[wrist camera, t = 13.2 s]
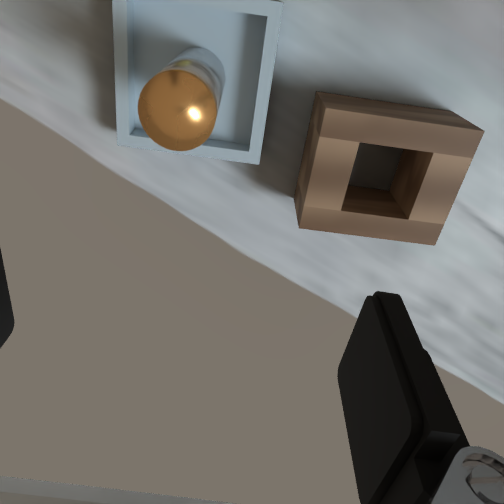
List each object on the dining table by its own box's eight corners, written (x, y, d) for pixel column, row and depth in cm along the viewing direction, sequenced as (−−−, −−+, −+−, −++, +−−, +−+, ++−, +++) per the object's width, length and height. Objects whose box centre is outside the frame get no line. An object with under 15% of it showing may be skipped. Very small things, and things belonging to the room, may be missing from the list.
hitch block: (316, 91, 35) (325, 107, 30) (452, 111, 36) (484, 131, 31) (293, 198, 40) (298, 228, 35) (412, 214, 41) (434, 245, 36)
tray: (123, -24, 31) (111, -26, 28) (281, 1, 32) (283, 2, 29) (126, 134, 37) (117, 145, 35) (259, 153, 38) (259, 164, 35)
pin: (171, 43, 32) (136, 66, 22) (227, 50, 33) (218, 76, 22) (170, 101, 35) (138, 146, 24) (223, 108, 35) (213, 155, 25)
